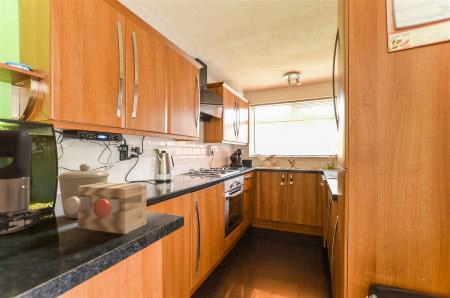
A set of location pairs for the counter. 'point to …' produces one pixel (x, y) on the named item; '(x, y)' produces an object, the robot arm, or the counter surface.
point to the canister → (79, 183)
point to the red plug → (106, 206)
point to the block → (120, 220)
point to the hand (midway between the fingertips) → (51, 210)
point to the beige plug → (77, 204)
